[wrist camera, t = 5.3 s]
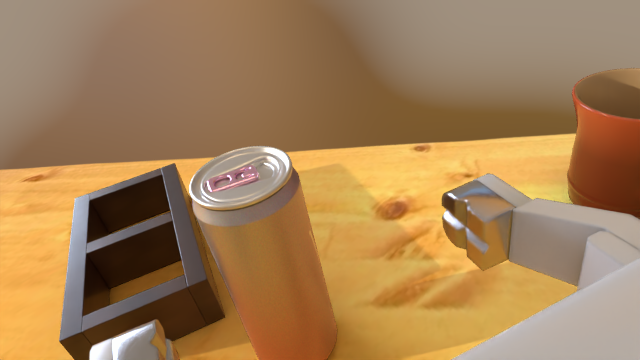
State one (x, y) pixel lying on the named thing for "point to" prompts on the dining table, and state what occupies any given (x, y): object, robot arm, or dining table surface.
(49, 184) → the dining table surface
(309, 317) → the beverage can
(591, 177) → the mug
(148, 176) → the holder
